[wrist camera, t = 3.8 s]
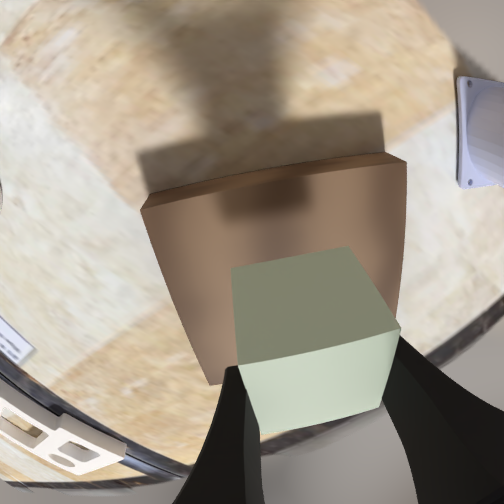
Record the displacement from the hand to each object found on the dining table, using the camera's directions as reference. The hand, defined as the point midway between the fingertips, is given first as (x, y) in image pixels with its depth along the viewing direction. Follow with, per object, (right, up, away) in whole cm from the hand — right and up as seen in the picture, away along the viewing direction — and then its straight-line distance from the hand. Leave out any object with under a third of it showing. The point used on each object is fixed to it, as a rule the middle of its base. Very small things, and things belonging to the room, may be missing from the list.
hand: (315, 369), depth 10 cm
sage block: (0, +2, +3) cm, 3 cm away
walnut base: (0, +3, +10) cm, 11 cm away
